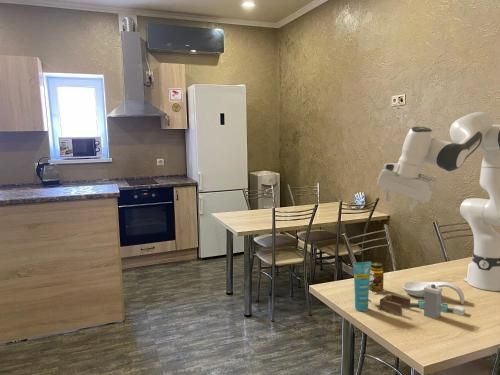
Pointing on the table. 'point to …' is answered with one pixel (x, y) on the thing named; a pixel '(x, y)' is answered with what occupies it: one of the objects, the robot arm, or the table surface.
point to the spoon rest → (418, 287)
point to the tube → (361, 284)
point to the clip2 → (421, 304)
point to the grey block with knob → (432, 301)
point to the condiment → (377, 278)
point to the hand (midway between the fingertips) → (398, 205)
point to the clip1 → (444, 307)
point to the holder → (394, 303)
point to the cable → (455, 310)
